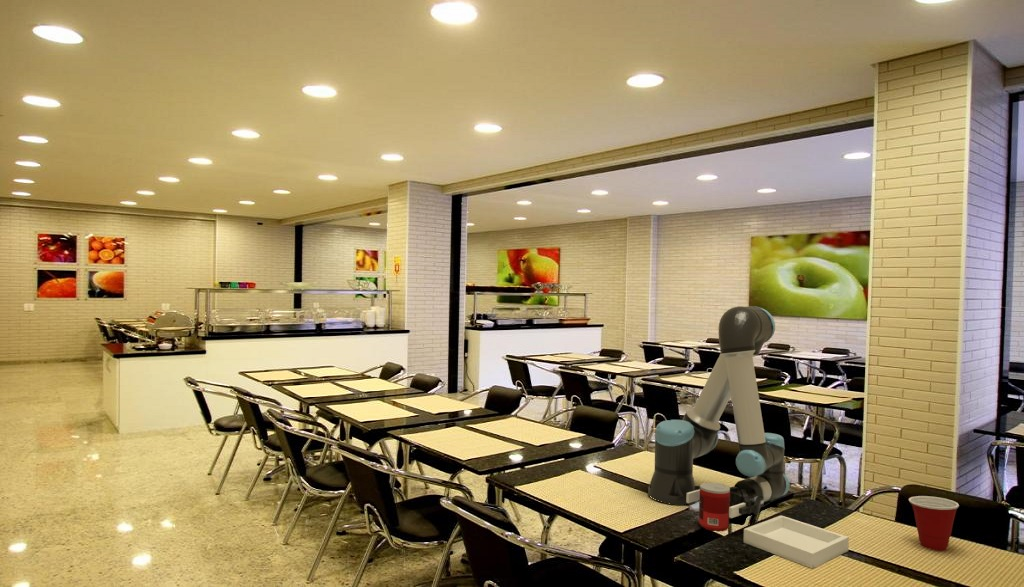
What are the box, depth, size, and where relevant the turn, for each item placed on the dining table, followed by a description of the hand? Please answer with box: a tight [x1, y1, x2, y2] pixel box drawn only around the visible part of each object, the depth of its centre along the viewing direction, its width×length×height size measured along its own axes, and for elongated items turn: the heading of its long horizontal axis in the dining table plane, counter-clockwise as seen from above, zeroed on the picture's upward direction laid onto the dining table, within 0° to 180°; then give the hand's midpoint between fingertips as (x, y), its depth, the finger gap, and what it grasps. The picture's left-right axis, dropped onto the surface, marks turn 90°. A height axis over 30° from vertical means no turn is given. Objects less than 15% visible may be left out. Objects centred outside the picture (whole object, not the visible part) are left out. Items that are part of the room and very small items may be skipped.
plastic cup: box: [908, 495, 960, 552], centre depth 159 cm, size 11×11×12 cm
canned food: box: [698, 482, 731, 532], centre depth 169 cm, size 8×8×11 cm
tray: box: [743, 515, 850, 569], centre depth 156 cm, size 18×18×4 cm
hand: (708, 505), depth 167 cm, fingers open, 13 cm apart
